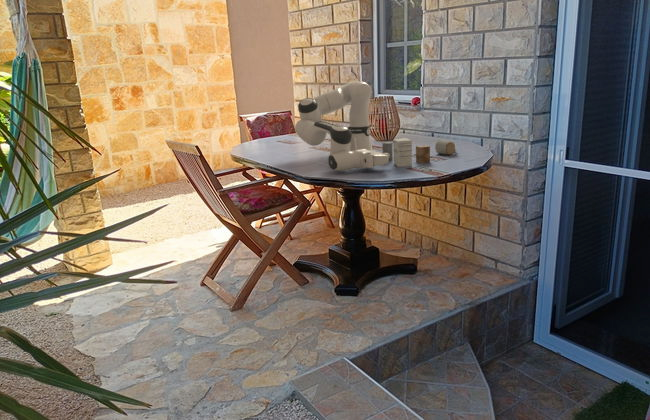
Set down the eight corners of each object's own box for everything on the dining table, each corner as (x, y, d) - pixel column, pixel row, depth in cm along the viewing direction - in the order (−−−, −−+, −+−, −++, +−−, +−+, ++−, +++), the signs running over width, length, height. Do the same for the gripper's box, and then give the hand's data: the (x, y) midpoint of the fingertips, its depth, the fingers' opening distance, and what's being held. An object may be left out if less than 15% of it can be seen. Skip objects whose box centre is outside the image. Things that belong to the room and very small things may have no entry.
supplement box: (393, 164, 250) (392, 139, 246) (407, 162, 251) (407, 137, 247) (397, 167, 243) (397, 141, 239) (412, 165, 244) (412, 139, 240)
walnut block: (421, 163, 247) (421, 147, 245) (416, 161, 252) (415, 146, 250) (430, 162, 249) (430, 146, 247) (424, 160, 253) (424, 144, 251)
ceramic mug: (446, 156, 260) (446, 141, 258) (434, 154, 267) (434, 140, 265) (460, 153, 266) (460, 139, 264) (448, 151, 272) (448, 137, 270)
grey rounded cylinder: (381, 160, 260) (380, 143, 257) (385, 159, 264) (385, 142, 261) (389, 161, 257) (389, 144, 254) (394, 159, 261) (393, 142, 258)
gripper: (354, 161, 249) (379, 157, 253) (371, 168, 230) (398, 164, 235) (353, 148, 247) (379, 145, 251) (371, 155, 229) (398, 151, 233)
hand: (388, 154), depth 243 cm, fingers closed
